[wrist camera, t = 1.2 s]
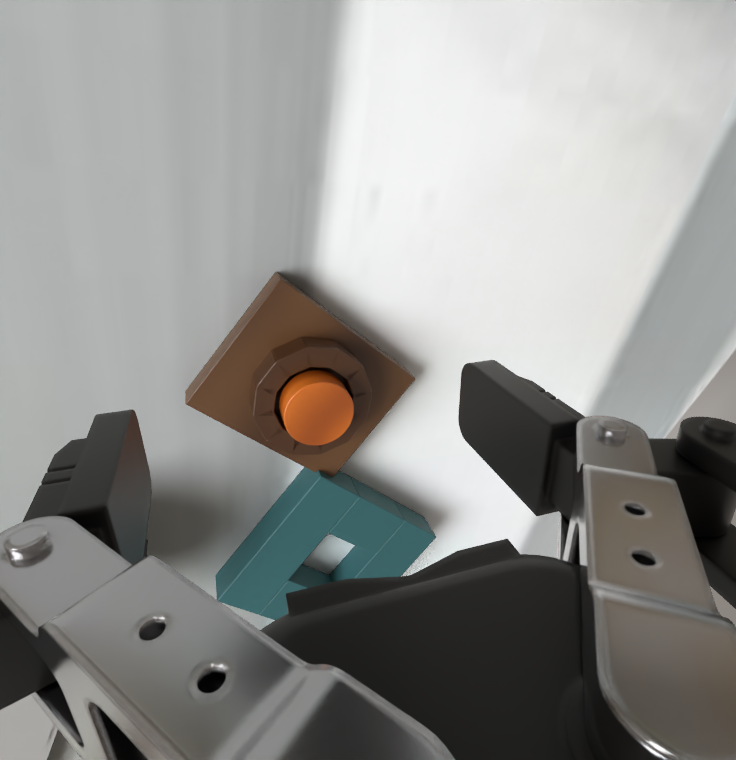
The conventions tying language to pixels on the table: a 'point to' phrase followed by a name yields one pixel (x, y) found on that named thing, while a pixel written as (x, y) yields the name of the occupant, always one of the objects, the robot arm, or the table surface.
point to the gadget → (25, 731)
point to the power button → (316, 407)
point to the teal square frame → (307, 529)
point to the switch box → (295, 374)
